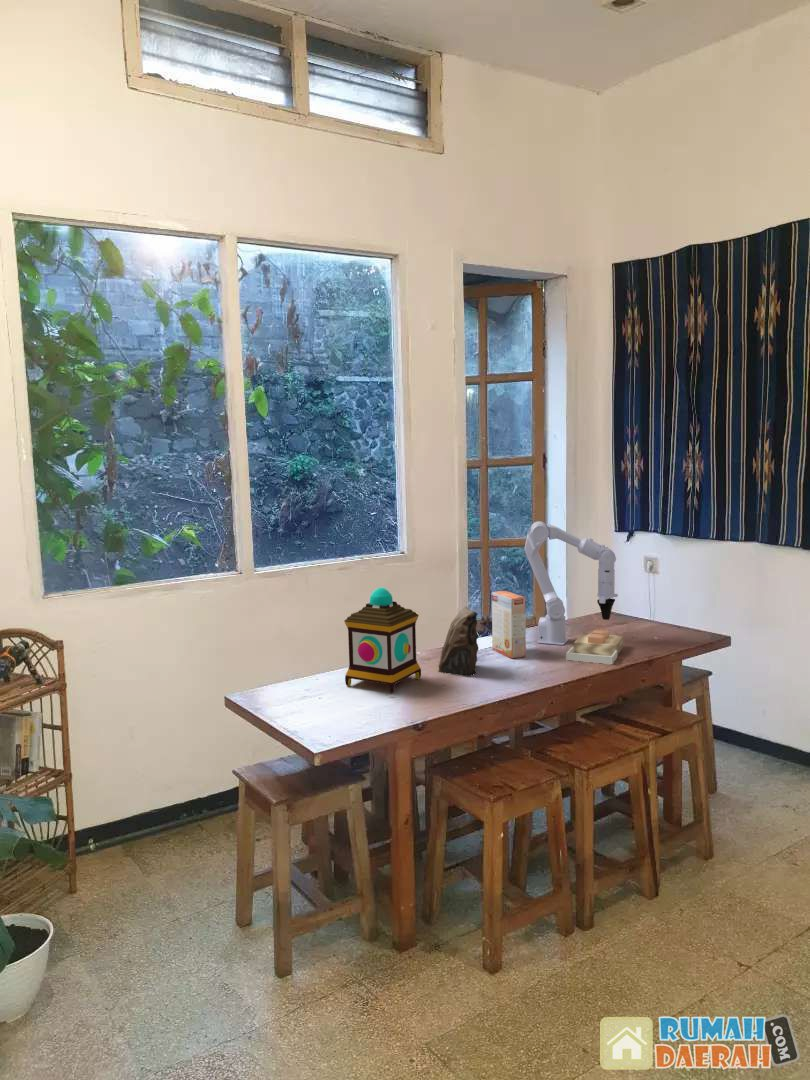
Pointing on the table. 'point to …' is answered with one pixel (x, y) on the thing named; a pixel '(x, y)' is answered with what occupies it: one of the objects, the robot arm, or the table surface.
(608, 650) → the beige square tray
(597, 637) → the tile front
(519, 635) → the cracker box
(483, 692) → the table surface
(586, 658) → the tray
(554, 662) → the table surface
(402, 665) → the decorative lantern
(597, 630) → the tile rear
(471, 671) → the brown rock
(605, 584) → the robot arm
